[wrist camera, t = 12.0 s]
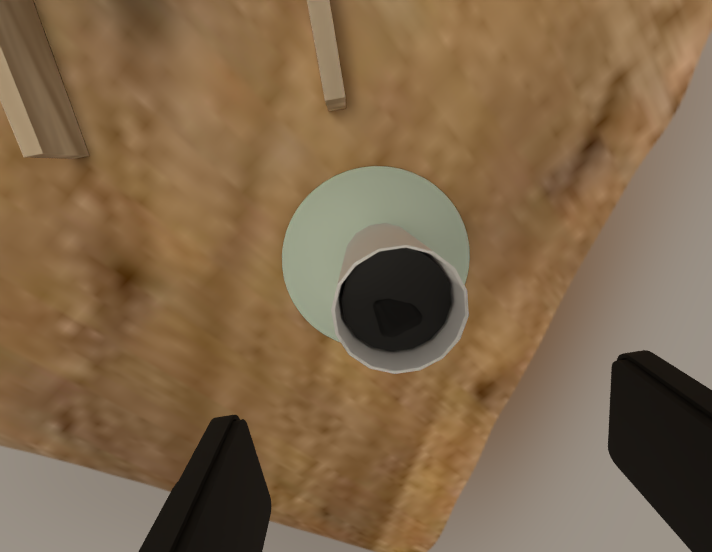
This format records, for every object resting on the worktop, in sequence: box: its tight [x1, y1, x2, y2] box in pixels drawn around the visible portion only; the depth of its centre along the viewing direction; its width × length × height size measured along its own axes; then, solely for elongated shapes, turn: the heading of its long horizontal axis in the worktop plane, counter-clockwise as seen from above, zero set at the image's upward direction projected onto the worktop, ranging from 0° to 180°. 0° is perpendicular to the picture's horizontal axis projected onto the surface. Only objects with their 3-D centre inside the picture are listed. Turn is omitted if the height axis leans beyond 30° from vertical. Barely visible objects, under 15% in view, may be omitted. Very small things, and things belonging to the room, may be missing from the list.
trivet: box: [282, 166, 470, 342], centre depth 27 cm, size 14×14×1 cm
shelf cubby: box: [0, 0, 346, 159], centre depth 21 cm, size 19×13×4 cm
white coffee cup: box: [331, 223, 469, 374], centre depth 22 cm, size 7×7×10 cm
